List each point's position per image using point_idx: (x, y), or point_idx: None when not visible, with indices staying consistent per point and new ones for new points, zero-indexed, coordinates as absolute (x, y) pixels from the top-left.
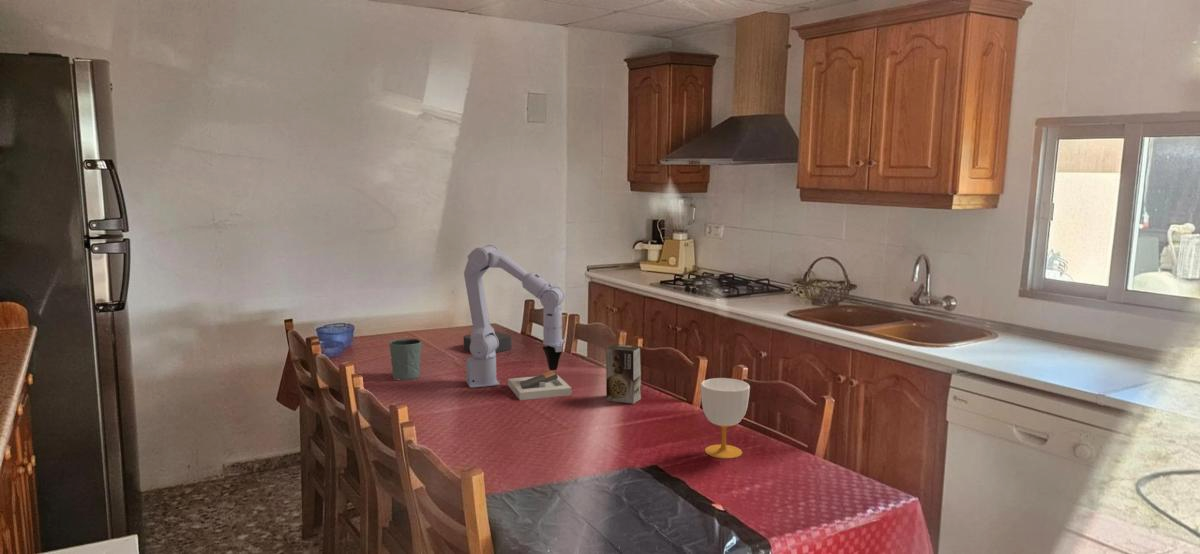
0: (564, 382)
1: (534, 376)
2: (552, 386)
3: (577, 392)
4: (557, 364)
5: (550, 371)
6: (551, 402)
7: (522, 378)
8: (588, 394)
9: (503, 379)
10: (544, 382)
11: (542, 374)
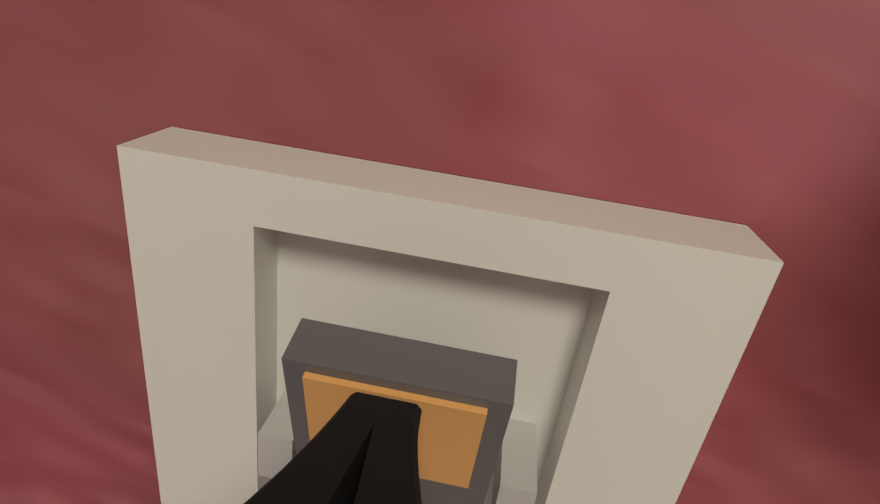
0: (499, 227)
1: (259, 469)
2: (581, 407)
3: (686, 109)
4: (416, 469)
5: (305, 392)
6: (814, 473)
7: (187, 490)
8: (864, 16)
9: (22, 471)
10: (529, 495)
11: (303, 446)
